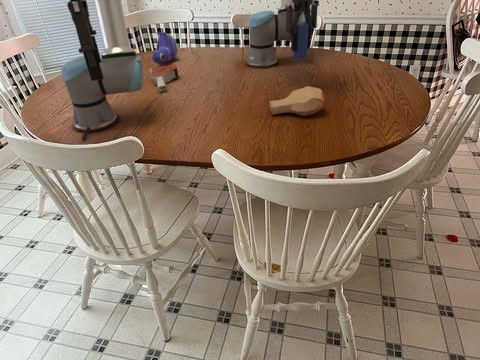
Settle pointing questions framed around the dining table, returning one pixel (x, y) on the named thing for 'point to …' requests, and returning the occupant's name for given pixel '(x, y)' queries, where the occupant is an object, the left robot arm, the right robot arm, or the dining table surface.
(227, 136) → the dining table surface
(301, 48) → the can
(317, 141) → the dining table surface
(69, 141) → the dining table surface
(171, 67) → the tape dispenser
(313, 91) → the squash
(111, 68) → the left robot arm
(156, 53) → the toy
